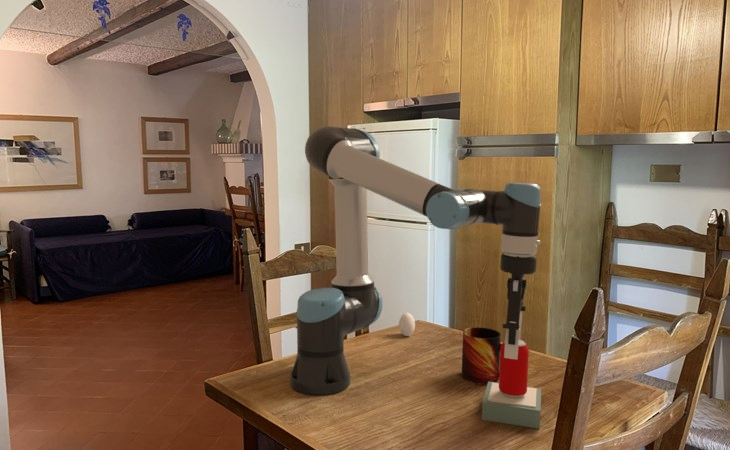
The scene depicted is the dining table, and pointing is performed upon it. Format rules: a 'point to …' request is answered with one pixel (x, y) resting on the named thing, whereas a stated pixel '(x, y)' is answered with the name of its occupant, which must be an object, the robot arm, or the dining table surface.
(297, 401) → the dining table surface
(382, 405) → the dining table surface
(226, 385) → the dining table surface
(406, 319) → the egg
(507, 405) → the base
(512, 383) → the beverage can
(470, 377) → the mug
